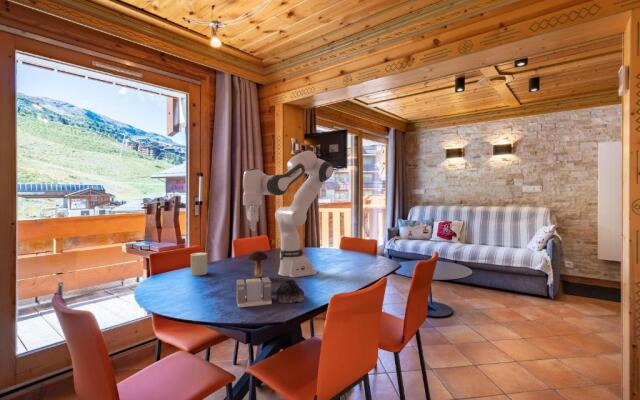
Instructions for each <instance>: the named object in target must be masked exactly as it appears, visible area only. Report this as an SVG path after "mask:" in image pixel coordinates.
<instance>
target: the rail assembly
mask: <svg viewBox="0 0 640 400" xmlns="http://www.w3.org/2000/svg"><path fill="white" fill-rule="evenodd" d="M235 298H236V304H237V308H246V307H248V308H249V307H255V306H256V307H257V306H264V305H265V306H266V305H272V303H273V302H272V281H271V278H270V277H265V276H264V277H261V300H255V301H247V299H246V282H245V280H244V278H243V279H236V297H235Z"/></svg>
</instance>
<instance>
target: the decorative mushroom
mask: <svg viewBox="0 0 640 400" xmlns="http://www.w3.org/2000/svg"><path fill="white" fill-rule="evenodd" d="M268 258H269V257H268V255H267V253H265V252H264V251H261V250H255V251H253V253H251V254H249V256H248V257H247V260H249V261H254V262H255V263H254V272H253V273H254V277H255V278H256V279H258V278H260V279H261V278H262V276H263V265H262V261H265V260H268Z"/></svg>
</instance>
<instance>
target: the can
mask: <svg viewBox="0 0 640 400" xmlns="http://www.w3.org/2000/svg"><path fill="white" fill-rule="evenodd" d="M206 274H208V253H207V252H194V253H191V254H190V275H191V276H205V275H206Z"/></svg>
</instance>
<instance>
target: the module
mask: <svg viewBox="0 0 640 400" xmlns="http://www.w3.org/2000/svg"><path fill="white" fill-rule="evenodd" d="M261 294H262V279H261V277H260V278H247V279H245V296H246V299H247V301H255V300H261Z"/></svg>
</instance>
